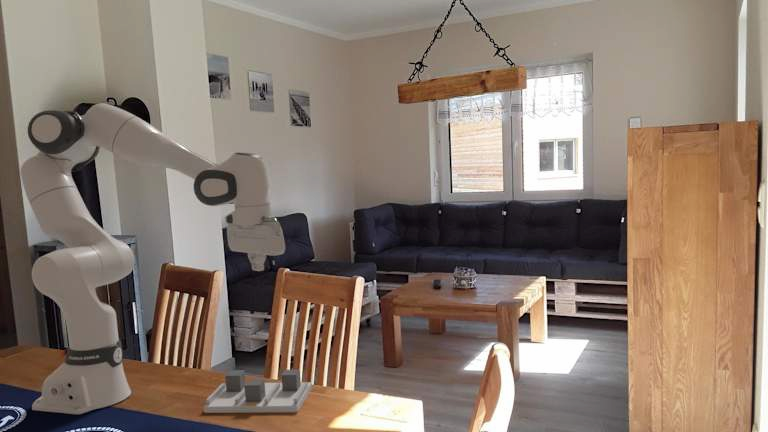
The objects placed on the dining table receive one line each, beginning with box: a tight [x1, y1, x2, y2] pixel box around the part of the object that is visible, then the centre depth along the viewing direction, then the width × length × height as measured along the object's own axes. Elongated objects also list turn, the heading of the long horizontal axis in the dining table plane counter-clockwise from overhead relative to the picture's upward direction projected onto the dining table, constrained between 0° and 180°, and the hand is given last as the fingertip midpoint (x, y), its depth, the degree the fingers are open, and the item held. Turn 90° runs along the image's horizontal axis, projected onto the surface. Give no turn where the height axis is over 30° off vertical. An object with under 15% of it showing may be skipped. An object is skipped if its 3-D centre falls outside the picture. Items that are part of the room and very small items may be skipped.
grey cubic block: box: [244, 378, 266, 402], centre depth 141 cm, size 4×4×4 cm
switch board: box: [203, 381, 313, 414], centre depth 144 cm, size 22×14×3 cm, turn 84°
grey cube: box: [281, 369, 301, 391], centre depth 146 cm, size 4×4×4 cm
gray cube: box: [224, 369, 247, 392], centre depth 148 cm, size 4×4×4 cm
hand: (258, 270), depth 154 cm, fingers closed
